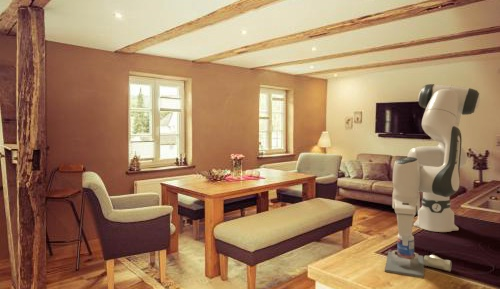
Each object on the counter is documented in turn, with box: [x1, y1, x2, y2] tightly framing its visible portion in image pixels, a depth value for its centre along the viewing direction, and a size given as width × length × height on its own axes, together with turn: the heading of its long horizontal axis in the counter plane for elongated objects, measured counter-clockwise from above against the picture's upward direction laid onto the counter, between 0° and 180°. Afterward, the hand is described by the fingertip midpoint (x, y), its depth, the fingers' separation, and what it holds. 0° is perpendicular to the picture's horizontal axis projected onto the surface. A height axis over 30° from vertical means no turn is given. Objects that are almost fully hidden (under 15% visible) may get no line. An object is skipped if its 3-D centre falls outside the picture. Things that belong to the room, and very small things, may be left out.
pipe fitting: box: [423, 254, 452, 273], centre depth 121 cm, size 8×4×7 cm
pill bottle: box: [396, 233, 415, 258], centre depth 123 cm, size 6×5×10 cm
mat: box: [384, 251, 425, 279], centre depth 123 cm, size 18×12×1 cm, turn 154°
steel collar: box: [391, 249, 419, 268], centre depth 123 cm, size 9×9×3 cm
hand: (405, 241), depth 123 cm, fingers closed on pill bottle, 5 cm apart
